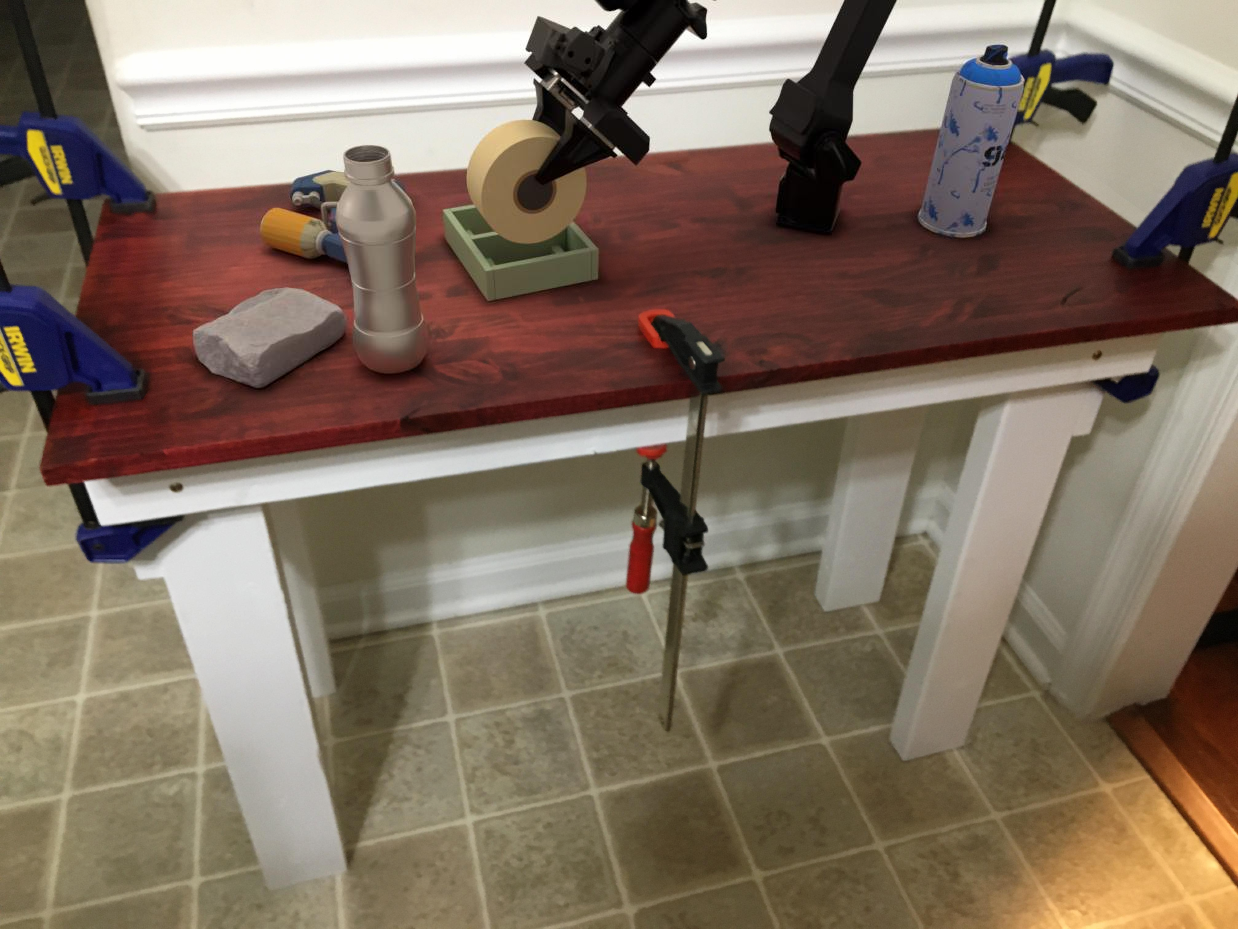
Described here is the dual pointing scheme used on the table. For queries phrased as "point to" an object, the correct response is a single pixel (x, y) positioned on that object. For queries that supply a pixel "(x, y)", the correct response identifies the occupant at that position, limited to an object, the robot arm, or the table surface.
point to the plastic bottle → (381, 262)
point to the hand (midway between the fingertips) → (529, 171)
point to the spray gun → (309, 218)
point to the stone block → (268, 335)
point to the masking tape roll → (522, 183)
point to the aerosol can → (972, 144)
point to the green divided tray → (518, 256)
